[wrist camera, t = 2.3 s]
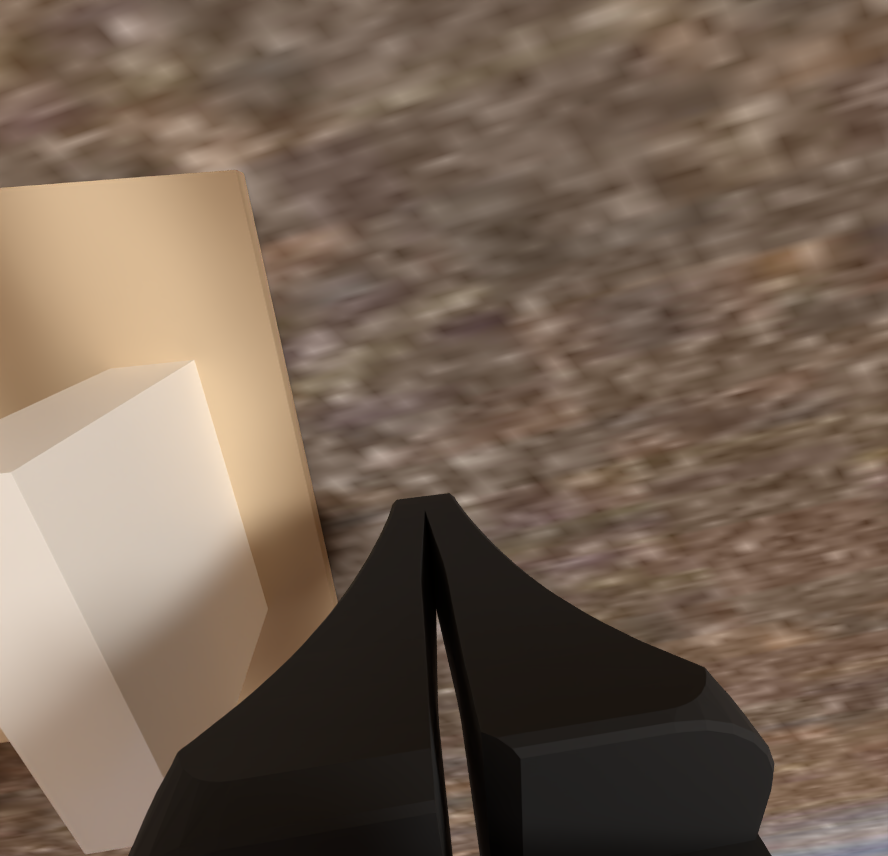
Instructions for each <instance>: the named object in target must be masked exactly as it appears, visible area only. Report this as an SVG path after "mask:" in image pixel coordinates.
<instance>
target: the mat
mask: <svg viewBox="0 0 888 856" xmlns="http://www.w3.org/2000/svg"><path fill="white" fill-rule="evenodd" d="M188 360H195V364H196V367H197V371H198V374H199V377H200V381H201V384H202V387H203V391H204V394H205V398H206V401H207V404H208V408H209V411H210V415H211V418H212V421H213V425H214V428H215V431H216V435H217V438H218V442H219V445H220V448H221V452H222V455H223V458H224V462H225V465H226V469H227V472H228V475H229V479H230V482H231V486H232V489H233V492H234V496H235V499H236V502H237V506H238V509H239V513H240V516H241V519H242V523H243V526H244V529H245V533H246V536H247V540H248V543H249V546H250V550H251V553H252V556H253V560H254V563H255V567H256V570H257V573H258V577H259V580H260V584H261V587H262V590H263V594H264V597H265V600H266V604H267V607H268V611H267V614H266V617H265V620H264V623H263V626H262V629H261V632H260V635H259V638H258V641H257V644H256V647H255V650H254V653H253V656H252V659H251V662H250V665H249V668H248V671H247V674H246V677H245V680H244V683H243V686H242V689H241V692H240V695H239V698H238V701H237V704H236V706H237V705H238V704H239V703H241V702H242V701H243V700H244V699H245V698H246V697H248V696H249V695H250V694H251V693H252V692H254V691H255V690H256V689H257V688H258V687H259V686H260V685H261V684H262V683H264V682H265V681H266V680H267V679H268V678H269V677H270V676H271V675H272V674H273V673H274V672H276V671H277V670H278V669H279V668H280V667H281V666H282V665H283V664H284V663H285V662H286V661H287V660H288V659H289V658H290V657H291V656H292V655H293V654H294V653H295V652H296V651H297V650H298V649H299V648H300V647H301V646H302V645H303V644H304V643H305V641H306V640H307V639H308V638H309V637H310V636H311V635H312V633H313V632H314V631H315V630H316V629H317V628H318V627H319V625H320V624H321V623H322V622H323V621H324V620H325V619H326V617H327V616H328V615H329V614H330V612H331V611H332V610H333V608H334V607H335V606H336V605H337V603H338V601H337V596H336V592H335V587H334V583H333V578H332V574H331V569H330V564H329V560H328V555H327V551H326V546H325V542H324V537H323V533H322V528H321V523H320V519H319V514H318V510H317V505H316V501H315V496H314V491H313V487H312V482H311V478H310V473H309V469H308V464H307V460H306V455H305V450H304V446H303V441H302V437H301V432H300V428H299V423H298V418H297V414H296V409H295V405H294V400H293V396H292V391H291V386H290V382H289V377H288V373H287V368H286V364H285V359H284V355H283V350H282V345H281V341H280V336H279V332H278V327H277V323H276V318H275V313H274V309H273V304H272V300H271V295H270V291H269V286H268V281H267V277H266V272H265V268H264V263H263V259H262V254H261V250H260V245H259V240H258V236H257V231H256V227H255V222H254V218H253V213H252V208H251V204H250V199H249V195H248V190H247V186H246V181H245V176H244V173H242V172H239V171H237V170H228V171H215V172H202V173H190V174H177V175H164V176H151V177H138V178H125V179H112V180H99V181H86V182H73V183H60V184H47V185H34V186H21V187H8V188H0V419H2V418H4V417H6V416H8V415H10V414H13V413H15V412H17V411H19V410H21V409H23V408H26V407H28V406H30V405H32V404H34V403H36V402H39V401H41V400H43V399H45V398H47V397H49V396H52V395H54V394H56V393H58V392H60V391H62V390H65V389H67V388H69V387H71V386H73V385H76V384H78V383H80V382H82V381H84V380H86V379H89V378H91V377H93V376H95V375H97V374H99V373H102V372H104V371H106V370H108V369H110V368H120V367H130V366H139V365H149V364H159V363H168V362H178V361H188ZM3 742H9V740H8V738H7V737H6V735H5V734H4V732H3V731H2V729H1V728H0V743H3Z"/></svg>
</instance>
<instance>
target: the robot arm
mask: <svg viewBox="0 0 888 856" xmlns="http://www.w3.org/2000/svg"><path fill="white" fill-rule="evenodd" d="M436 610H437V614H438V619H439V623H440V627H441V632H442V636H443V640H444V645H445V649H446V653H447V658H448V662H449V666H450V671H451V675H452V679H453V684H454V688H455V692H456V697H457V702H458V707H459V712H460V717H461V723H462V730H463V737H464V744H465V751H466V758H467V766H468V773H469V780H470V787H471V794H472V801H473V809H474V816H475V823H476V830H477V837H478V845H479V852H480V856H771V854H770V853H769V851H768V849H767V848H766V846H765V844H764V843H763V841H762V840H761V838H760V836H759V835H758V831H759V828H760V825H761V821H762V818H763V815H764V812H765V808H766V805H767V802H768V799H769V795H770V792H771V788H772V781H773V772H774V761H773V758H772V755H771V752H770V749H769V747H768V745H767V744H766V743H765V741H764V740H763V739H762V737H761V736H760V735H759V733H758V732H757V730H756V729H755V728H754V726H753V725H752V724H751V722H750V721H749V720H748V718H747V717H746V716H745V714H744V713H743V712H742V710H741V709H740V708H739V707H738V705H737V704H736V703H735V702H734V700H733V699H732V698H731V697H730V696H729V695H728V693H727V692H726V691H725V690H724V689H723V688H722V687H721V686H720V685H719V684H718V682H717V681H716V680H715V679H714V678H713V677H712V676H711V674H710V673H709V672H708V671H707V669H706V668H705V667H702V666H700V665H698V664H695V663H693V662H690V661H688V660H685V659H683V658H680V657H678V656H676V655H673V654H671V653H668V652H666V651H663V650H661V649H659V648H656V647H654V646H651V645H649V644H646V643H644V642H642V641H640V640H637V639H635V638H633V637H631V636H629V635H627V634H625V633H623V632H621V631H619V630H617V629H615V628H613V627H611V626H609V625H607V624H605V623H603V622H601V621H599V620H597V619H596V618H594V617H592V616H590V615H588V614H586V613H585V612H583V611H581V610H580V609H578V608H576V607H575V606H573V605H571V604H570V603H568V602H567V601H565V600H563V599H562V598H560V597H558V596H557V595H555V594H554V593H552V592H551V591H549V590H548V589H546V588H545V587H544V586H542V585H541V584H540V583H538V582H537V581H536V580H534V579H533V578H532V577H530V576H529V575H528V574H526V573H525V572H524V571H523V570H522V569H520V568H519V567H518V566H517V565H516V564H514V563H513V562H512V561H511V560H510V559H509V558H508V557H507V556H506V555H504V554H503V553H502V552H501V551H500V550H499V549H498V548H497V547H496V546H495V545H494V544H493V543H492V542H491V541H490V540H489V539H488V538H487V537H486V536H485V535H484V534H483V533H482V532H481V530H480V529H479V528H478V527H477V526H476V525H475V524H474V523H473V522H472V520H471V519H470V518H469V517H468V515H467V514H466V513H465V512H464V510H463V509H462V508H461V506H460V505H459V504H458V502H457V501H456V499H455V497H454V496H452V495H451V494H450V493H447V494H439V495H431V496H423V497H415V498H407V499H400V500H396V501H395V502H394V504H393V505H392V508H391V511H390V514H389V517H388V519H387V521H386V524H385V526H384V528H383V530H382V532H381V534H380V536H379V538H378V540H377V542H376V544H375V546H374V548H373V550H372V552H371V553H370V555H369V557H368V559H367V560H366V562H365V563H364V565H363V567H362V568H361V570H360V571H359V573H358V575H357V576H356V578H355V579H354V581H353V583H352V584H351V585H350V587H349V588H348V590H347V591H346V593H345V594H344V595H343V597H342V598H341V599H340V601H339V602H338V603H337V605H336V606H335V607H334V608H333V610H332V611H331V612H330V614H329V615H328V616H327V617H326V619H325V620H324V621H323V622H322V623H321V624H320V625H319V627H318V628H317V629H316V630H315V631H314V632H313V633H312V635H311V636H310V637H309V638H308V639H307V640H306V641H305V643H304V644H303V645H302V646H301V647H300V648H299V649H298V650H297V651H296V652H295V653H294V654H293V655H292V656H291V657H290V658H289V659H288V660H287V661H286V662H285V663H284V664H283V665H282V666H281V667H280V668H279V669H278V670H277V671H276V672H274V673H273V674H272V675H271V676H270V677H269V678H268V679H267V680H266V681H265V682H264V683H262V684H261V685H260V686H259V687H258V688H257V689H256V690H255V691H254V692H252V693H251V694H250V695H249V696H248V697H246V698H245V699H244V700H243V701H242V702H241V703H239V704H238V705H237V706H236V707H234V708H233V709H232V710H231V711H229V712H228V713H227V714H226V715H224V716H223V717H222V718H221V719H219V720H218V721H217V722H215V723H214V724H213V725H212V726H210V727H209V728H208V729H207V730H205V731H204V732H203V733H202V734H200V735H199V736H198V737H197V738H195V739H194V740H193V741H191V742H190V743H189V744H187V745H186V746H185V747H183V748H182V749H181V750H179V751H178V752H177V754H176V756H175V758H174V760H173V763H172V765H171V767H170V768H169V770H168V772H167V774H166V776H165V777H164V779H163V781H162V783H161V785H160V786H159V788H158V790H157V792H156V794H155V796H154V798H153V801H152V803H151V805H150V807H149V809H148V811H147V813H146V815H145V818H144V820H143V822H142V825H141V827H140V829H139V832H138V834H137V836H136V839H135V841H134V844H133V846H132V848H131V851H130V853H129V855H128V856H453V855H452V845H451V836H450V826H449V816H448V807H447V797H446V788H445V778H444V768H443V759H442V749H441V739H440V730H439V716H438V688H437V632H436Z"/></svg>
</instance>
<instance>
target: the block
mask: <svg viewBox="0 0 888 856" xmlns="http://www.w3.org/2000/svg"><path fill="white" fill-rule="evenodd" d="M267 611H268V607H267V604H266V600H265V597H264V594H263V590H262V587H261V584H260V580H259V577H258V573H257V570H256V567H255V563H254V560H253V556H252V553H251V550H250V546H249V543H248V540H247V536H246V533H245V529H244V526H243V523H242V519H241V516H240V513H239V509H238V506H237V502H236V499H235V496H234V492H233V489H232V486H231V482H230V479H229V475H228V472H227V469H226V465H225V462H224V458H223V455H222V452H221V448H220V445H219V442H218V438H217V435H216V431H215V428H214V425H213V421H212V418H211V415H210V411H209V408H208V404H207V401H206V398H205V394H204V391H203V387H202V384H201V381H200V377H199V374H198V371H197V367H196V364H195V360H188V361H178V362H168V363H159V364H149V365H139V366H130V367H120V368H110V369H108V370H106V371H104V372H102V373H99V374H97V375H95V376H93V377H91V378H89V379H86V380H84V381H82V382H80V383H78V384H76V385H73V386H71V387H69V388H67V389H65V390H62V391H60V392H58V393H56V394H54V395H52V396H49V397H47V398H45V399H43V400H41V401H39V402H36V403H34V404H32V405H30V406H28V407H26V408H23V409H21V410H19V411H17V412H15V413H13V414H10V415H8V416H6V417H4V418H2V419H0V728H1V729H2V731H3V732H4V734H5V735H6V737H7V738H8V740H9V741H10V743H11V744H12V746H13V747H14V749H15V750H16V752H17V753H18V755H19V756H20V758H21V759H22V761H23V762H24V764H25V765H26V767H27V768H28V770H29V771H30V773H31V774H32V776H33V777H34V779H35V780H36V782H37V783H38V785H39V786H40V788H41V789H42V791H43V792H44V794H45V795H46V797H47V798H48V799H49V801H50V802H51V804H52V805H53V807H54V808H55V810H56V811H57V813H58V814H59V816H60V817H61V819H62V820H63V822H64V823H65V825H66V826H67V828H68V829H69V831H70V832H71V834H72V835H73V837H74V838H75V840H76V841H77V843H78V844H79V846H80V847H81V849H82V850H83V852H84V853H85V854H91V853H97V852H102V851H108V850H114V849H120V848H126V847H132V846H133V844H134V841H135V839H136V836H137V834H138V832H139V829H140V827H141V825H142V822H143V820H144V818H145V815H146V813H147V811H148V809H149V807H150V805H151V803H152V801H153V798H154V796H155V794H156V792H157V790H158V788H159V786H160V785H161V783H162V781H163V779H164V777H165V776H166V774H167V772H168V770H169V768H170V767H171V765H172V763H173V760H174V758H175V756H176V754H177V752H178V751H179V750H181V749H182V748H183V747H185V746H186V745H187V744H189V743H190V742H191V741H193V740H194V739H195V738H197V737H198V736H199V735H200V734H202V733H203V732H204V731H205V730H207V729H208V728H209V727H210V726H212V725H213V724H214V723H215V722H217V721H218V720H219V719H221V718H222V717H223V716H224V715H226V714H227V713H228V712H229V711H231V710H232V709H233V708H234V707H236V704H237V701H238V698H239V695H240V692H241V689H242V686H243V683H244V680H245V677H246V674H247V671H248V668H249V665H250V662H251V659H252V656H253V653H254V650H255V647H256V644H257V641H258V638H259V635H260V632H261V629H262V626H263V623H264V620H265V617H266V614H267Z"/></svg>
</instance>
